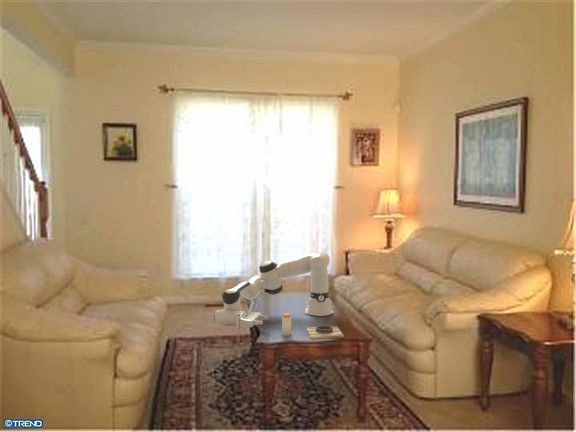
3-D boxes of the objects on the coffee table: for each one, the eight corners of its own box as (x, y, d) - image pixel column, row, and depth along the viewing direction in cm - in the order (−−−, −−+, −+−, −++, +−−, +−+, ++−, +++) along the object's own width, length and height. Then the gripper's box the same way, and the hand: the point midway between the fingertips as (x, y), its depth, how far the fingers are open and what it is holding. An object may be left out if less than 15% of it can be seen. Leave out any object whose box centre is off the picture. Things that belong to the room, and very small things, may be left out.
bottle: (281, 333, 292) (281, 313, 291) (290, 333, 293) (290, 313, 292) (282, 335, 287) (282, 315, 287) (291, 335, 288) (291, 315, 287)
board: (305, 329, 300) (305, 323, 300) (336, 328, 302) (337, 323, 302) (310, 338, 282) (310, 332, 282) (343, 337, 284) (343, 331, 284)
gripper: (247, 319, 306) (270, 321, 303) (235, 329, 286) (259, 330, 283) (247, 309, 306) (270, 310, 302) (235, 317, 286) (259, 319, 282)
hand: (265, 320), depth 292 cm, fingers open, 8 cm apart
